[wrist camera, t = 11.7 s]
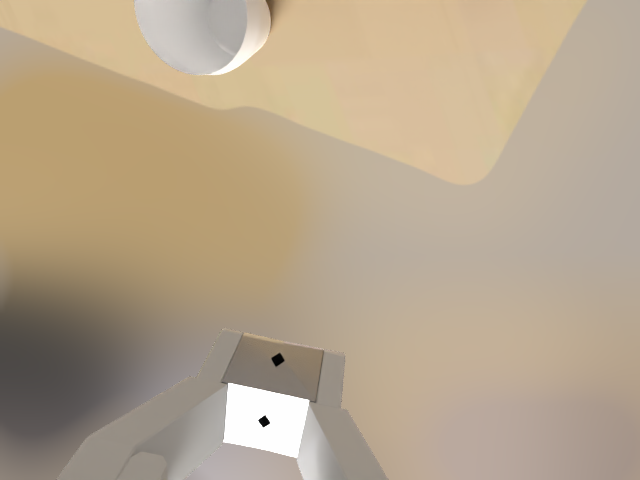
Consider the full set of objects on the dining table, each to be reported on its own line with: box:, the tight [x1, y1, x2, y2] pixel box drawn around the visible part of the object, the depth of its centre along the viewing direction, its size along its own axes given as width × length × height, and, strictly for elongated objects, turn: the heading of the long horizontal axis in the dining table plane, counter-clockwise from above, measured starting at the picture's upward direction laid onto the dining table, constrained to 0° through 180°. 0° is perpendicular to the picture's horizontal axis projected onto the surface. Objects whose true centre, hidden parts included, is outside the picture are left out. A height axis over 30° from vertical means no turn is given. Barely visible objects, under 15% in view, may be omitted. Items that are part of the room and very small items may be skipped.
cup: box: [134, 0, 271, 75], centre depth 34 cm, size 9×9×12 cm
